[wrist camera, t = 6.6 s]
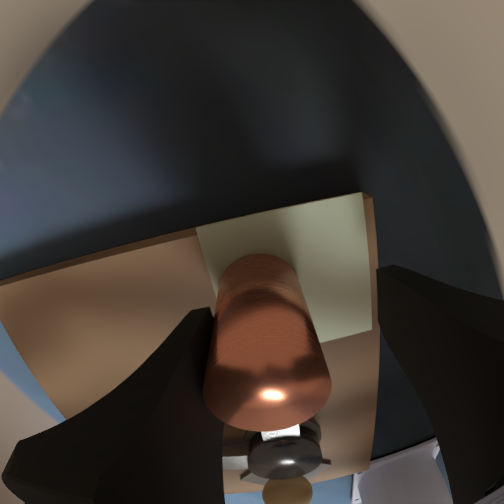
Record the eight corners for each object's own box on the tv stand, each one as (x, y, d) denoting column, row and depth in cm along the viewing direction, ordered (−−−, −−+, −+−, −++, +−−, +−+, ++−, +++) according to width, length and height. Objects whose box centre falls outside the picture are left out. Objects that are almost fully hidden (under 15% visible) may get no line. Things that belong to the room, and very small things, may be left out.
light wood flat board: (365, 457, 19) (379, 505, 14) (138, 481, 20) (129, 523, 16) (360, 184, 12) (419, 214, 7) (-4, 276, 13) (-55, 318, 8)
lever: (317, 453, 16) (331, 523, 11) (205, 463, 16) (199, 533, 11) (309, 245, 11) (355, 331, 6) (123, 272, 11) (59, 358, 6)
